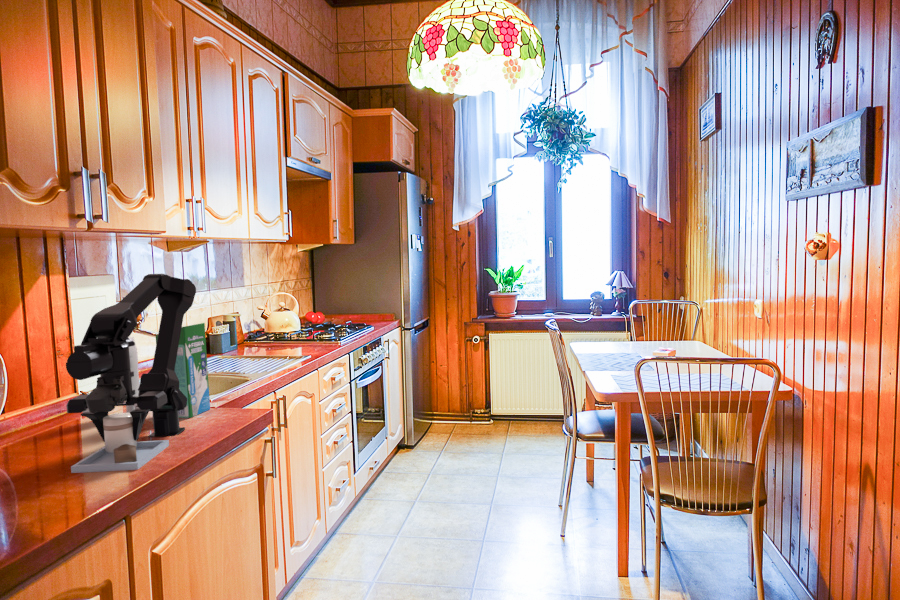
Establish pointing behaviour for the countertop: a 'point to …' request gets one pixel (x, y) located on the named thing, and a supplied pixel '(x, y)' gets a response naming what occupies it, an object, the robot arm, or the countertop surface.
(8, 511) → the countertop surface
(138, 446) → the tray
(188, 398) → the milk carton
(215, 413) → the countertop surface
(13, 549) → the countertop surface
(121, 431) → the cream lidded jar
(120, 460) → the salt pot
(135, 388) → the tall pale column
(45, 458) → the countertop surface
